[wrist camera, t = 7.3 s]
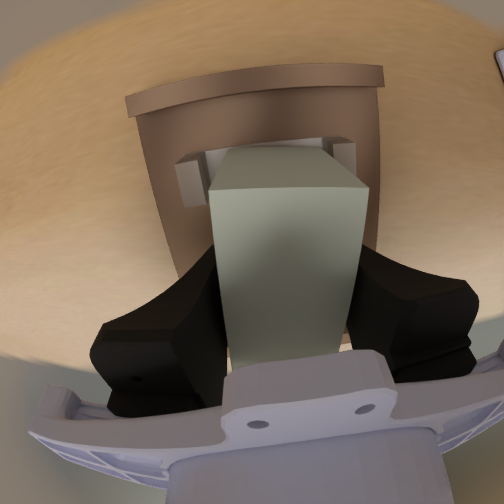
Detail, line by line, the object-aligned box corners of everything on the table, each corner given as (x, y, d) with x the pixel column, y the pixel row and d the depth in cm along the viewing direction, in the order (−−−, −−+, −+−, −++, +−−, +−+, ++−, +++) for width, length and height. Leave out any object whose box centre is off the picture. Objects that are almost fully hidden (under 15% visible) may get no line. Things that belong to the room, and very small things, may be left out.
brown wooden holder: (365, 70, 12) (395, 66, 9) (361, 307, 20) (376, 341, 17) (140, 98, 13) (111, 100, 10) (202, 325, 21) (195, 362, 18)
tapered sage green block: (319, 147, 12) (369, 187, 7) (309, 304, 16) (327, 390, 11) (228, 148, 12) (208, 190, 7) (240, 307, 16) (236, 395, 11)
